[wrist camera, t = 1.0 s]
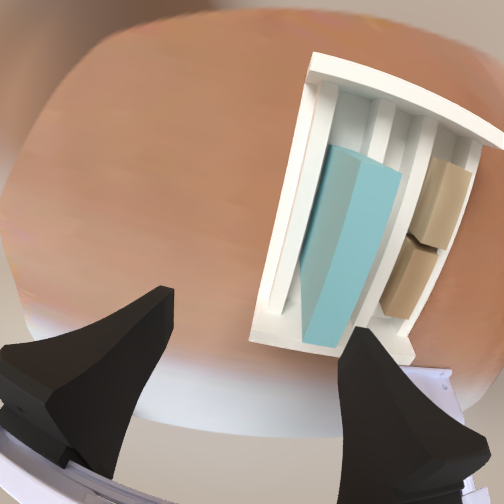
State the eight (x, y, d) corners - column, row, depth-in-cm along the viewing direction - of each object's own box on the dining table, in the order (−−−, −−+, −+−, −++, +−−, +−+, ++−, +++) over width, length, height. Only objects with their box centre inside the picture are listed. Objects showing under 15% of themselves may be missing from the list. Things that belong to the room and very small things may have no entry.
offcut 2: (445, 163, 16) (472, 173, 13) (424, 229, 18) (445, 250, 15) (422, 153, 16) (447, 161, 13) (401, 222, 18) (420, 242, 15)
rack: (465, 128, 15) (506, 134, 11) (393, 324, 23) (409, 365, 18) (307, 69, 16) (313, 51, 11) (257, 298, 23) (248, 340, 18)
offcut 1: (421, 237, 18) (439, 255, 16) (396, 296, 20) (408, 319, 18) (398, 230, 18) (414, 248, 16) (374, 291, 21) (384, 315, 18)
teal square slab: (353, 150, 17) (402, 173, 9) (321, 263, 20) (335, 348, 12) (329, 143, 17) (361, 160, 9) (299, 258, 20) (302, 342, 13)
